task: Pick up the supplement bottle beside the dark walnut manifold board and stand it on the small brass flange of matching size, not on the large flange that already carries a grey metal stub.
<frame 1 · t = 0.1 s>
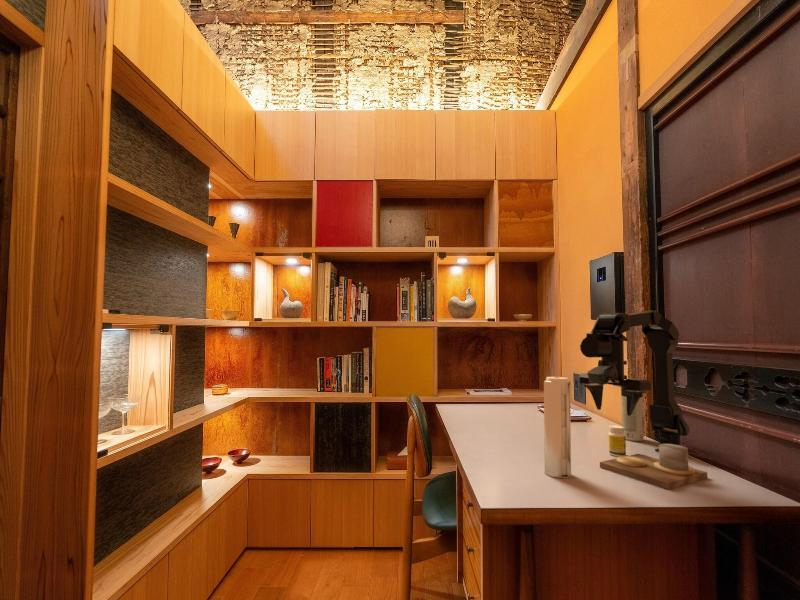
hand: (613, 412, 119), 14 cm above the table, fingers open, 9 cm apart
spray can: (632, 439, 147), on the table
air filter: (557, 474, 109), on the table
supplement bottle: (617, 455, 128), on the table
manifold board: (651, 472, 112), on the table
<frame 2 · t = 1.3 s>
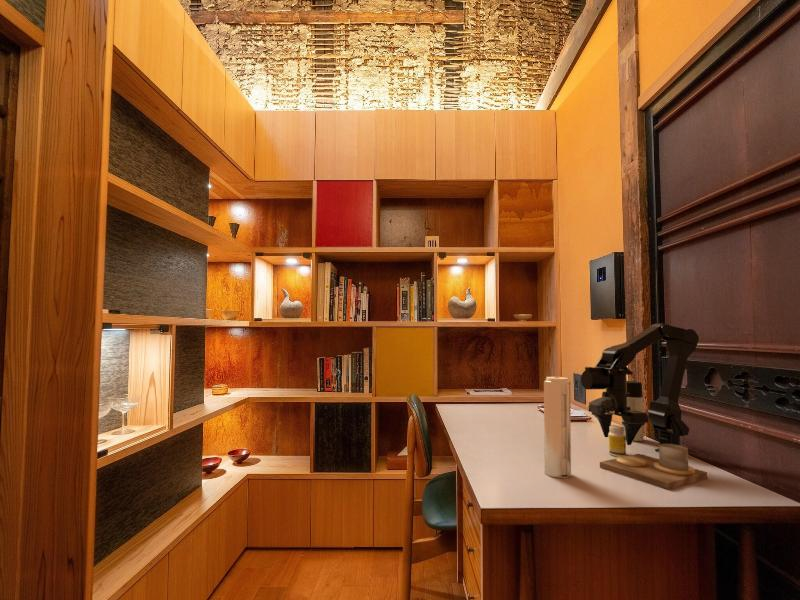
hand: (617, 440, 128), 4 cm above the table, fingers open, 9 cm apart
nothing on the table moved.
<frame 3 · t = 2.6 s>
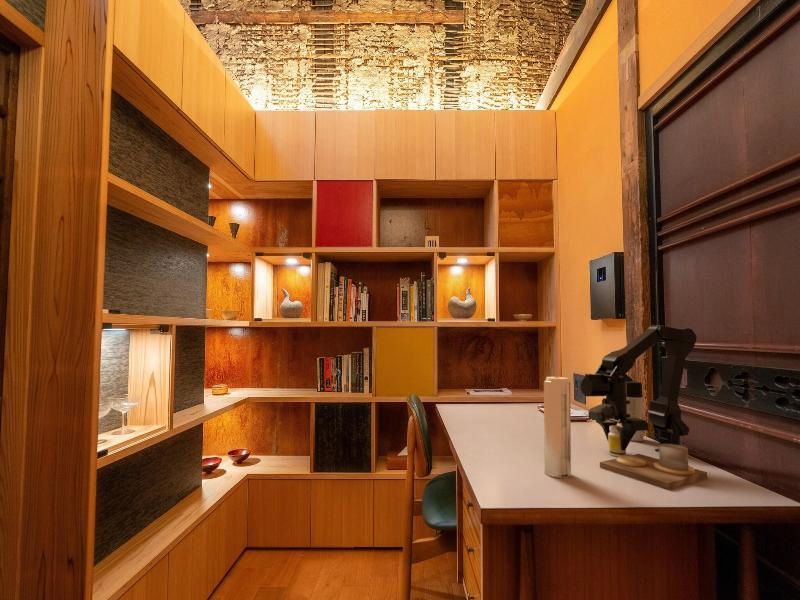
hand: (617, 447, 128), 2 cm above the table, fingers closed on supplement bottle, 5 cm apart
supplement bottle: (617, 455, 128), on the table, touching gripper
everything else where it was.
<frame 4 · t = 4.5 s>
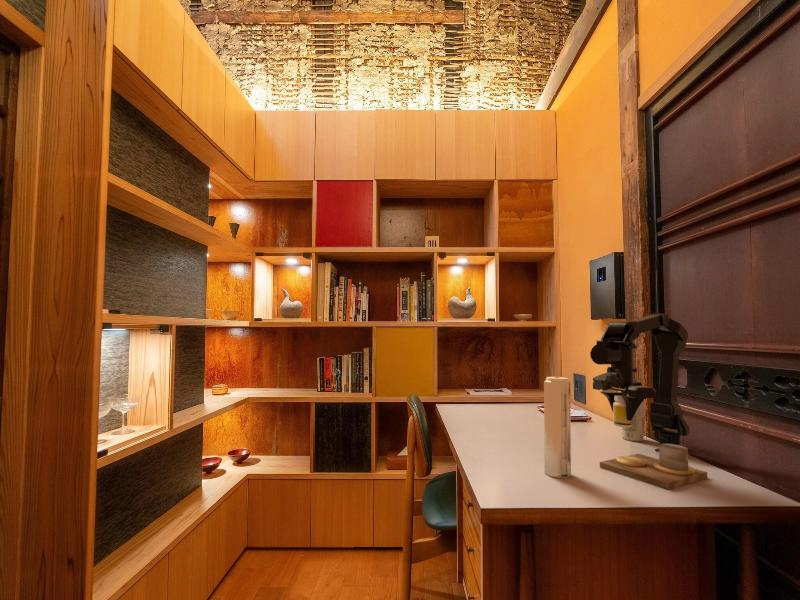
hand: (622, 418, 121), 12 cm above the table, fingers closed on supplement bottle, 5 cm apart
supplement bottle: (622, 426, 121), point 10 cm above the table, touching gripper
everything else where it was.
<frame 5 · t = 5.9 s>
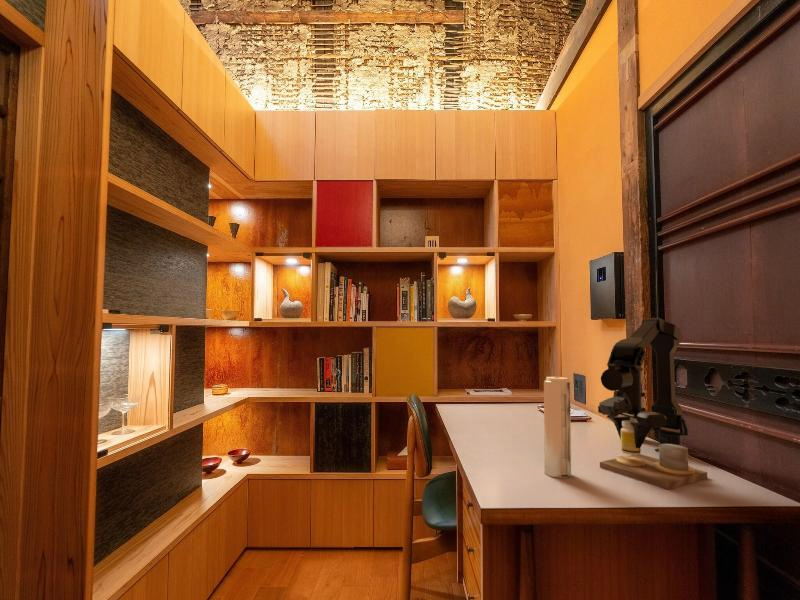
hand: (630, 445, 115), 6 cm above the table, fingers closed on supplement bottle, 5 cm apart
supplement bottle: (630, 453, 115), point 4 cm above the table, touching gripper
everything else where it was.
when the fingers open (5 cm above the table, at t = 6.8 s): supplement bottle drops 1 cm, resting on manifold board.
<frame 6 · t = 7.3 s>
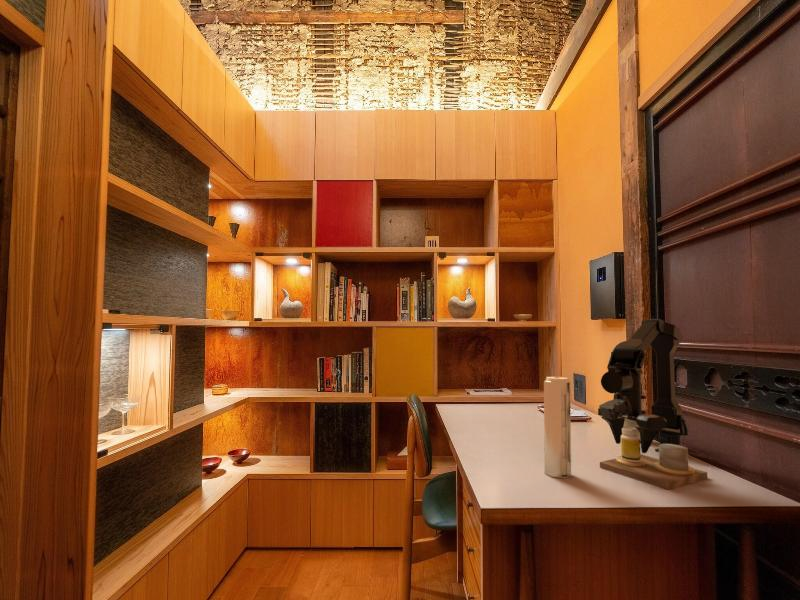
hand: (630, 448, 115), 5 cm above the table, fingers open, 9 cm apart
supplement bottle: (630, 460, 115), point 2 cm above the table, touching manifold board
everything else where it was.
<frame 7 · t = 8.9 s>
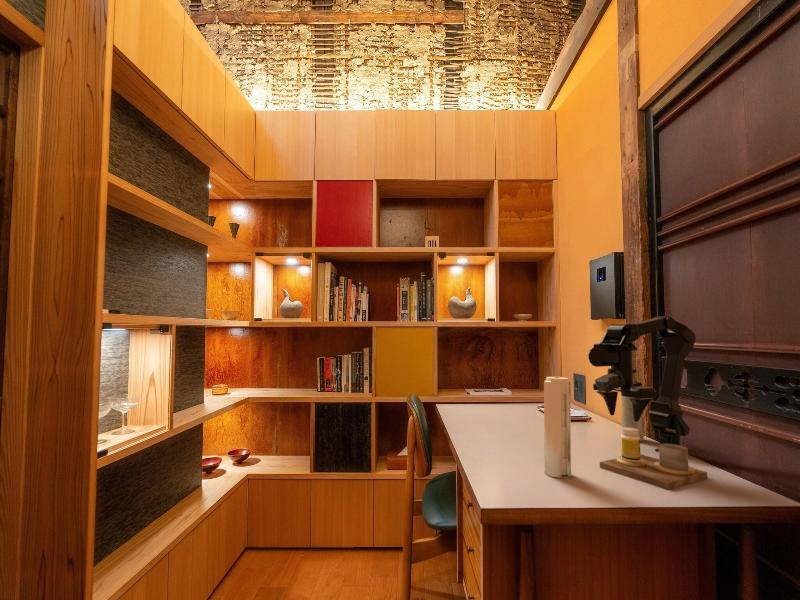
hand: (623, 418, 125), 12 cm above the table, fingers open, 9 cm apart
nothing on the table moved.
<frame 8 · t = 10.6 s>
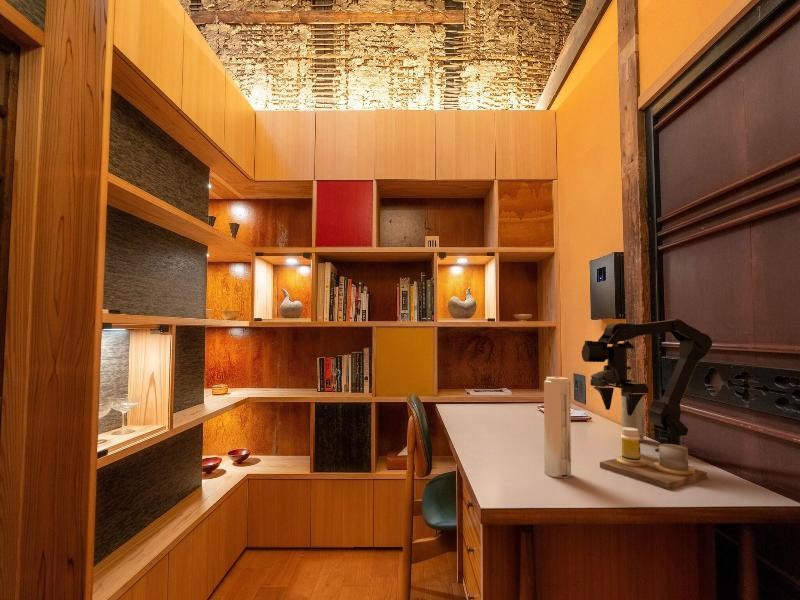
hand: (618, 412, 133), 12 cm above the table, fingers open, 9 cm apart
nothing on the table moved.
at the end: supplement bottle 0.1 cm from the target spot on the manifold board, point 2.1 cm above the manifold board's base; supplement bottle tilted 0°; the gripper is holding nothing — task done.
